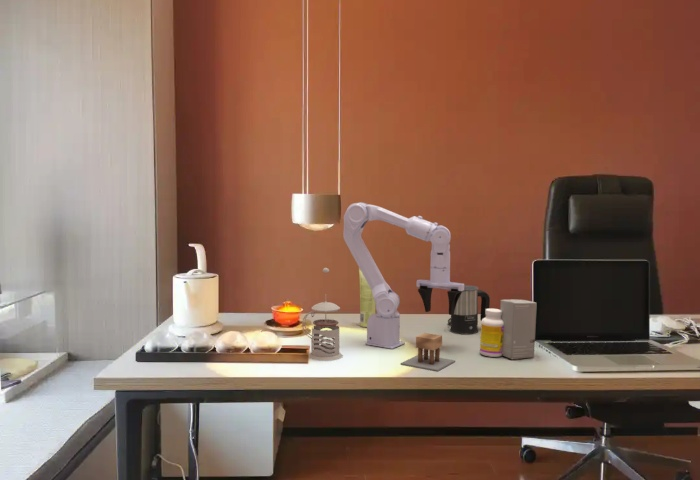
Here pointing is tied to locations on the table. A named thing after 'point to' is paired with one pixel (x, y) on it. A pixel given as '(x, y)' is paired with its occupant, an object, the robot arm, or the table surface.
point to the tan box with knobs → (428, 347)
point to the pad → (425, 364)
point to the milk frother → (468, 310)
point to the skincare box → (518, 328)
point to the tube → (365, 301)
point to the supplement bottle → (492, 333)
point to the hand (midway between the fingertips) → (439, 312)
